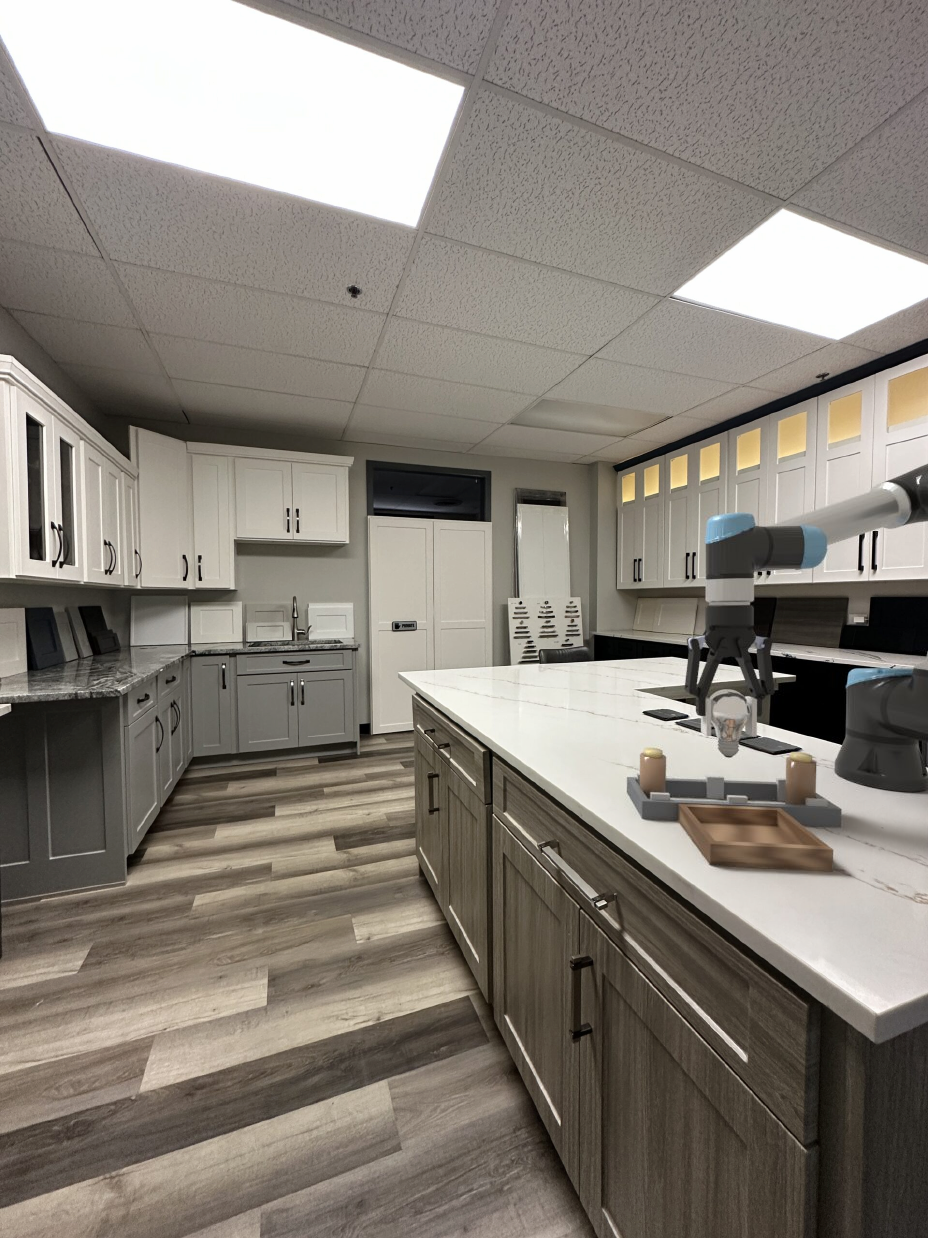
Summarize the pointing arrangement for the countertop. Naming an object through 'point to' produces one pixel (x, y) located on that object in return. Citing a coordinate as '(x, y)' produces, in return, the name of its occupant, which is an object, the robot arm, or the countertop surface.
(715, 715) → the light bulb
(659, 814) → the holder
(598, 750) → the countertop surface
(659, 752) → the cylinder
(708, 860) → the tray
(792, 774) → the cylinder
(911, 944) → the countertop surface
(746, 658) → the robot arm
